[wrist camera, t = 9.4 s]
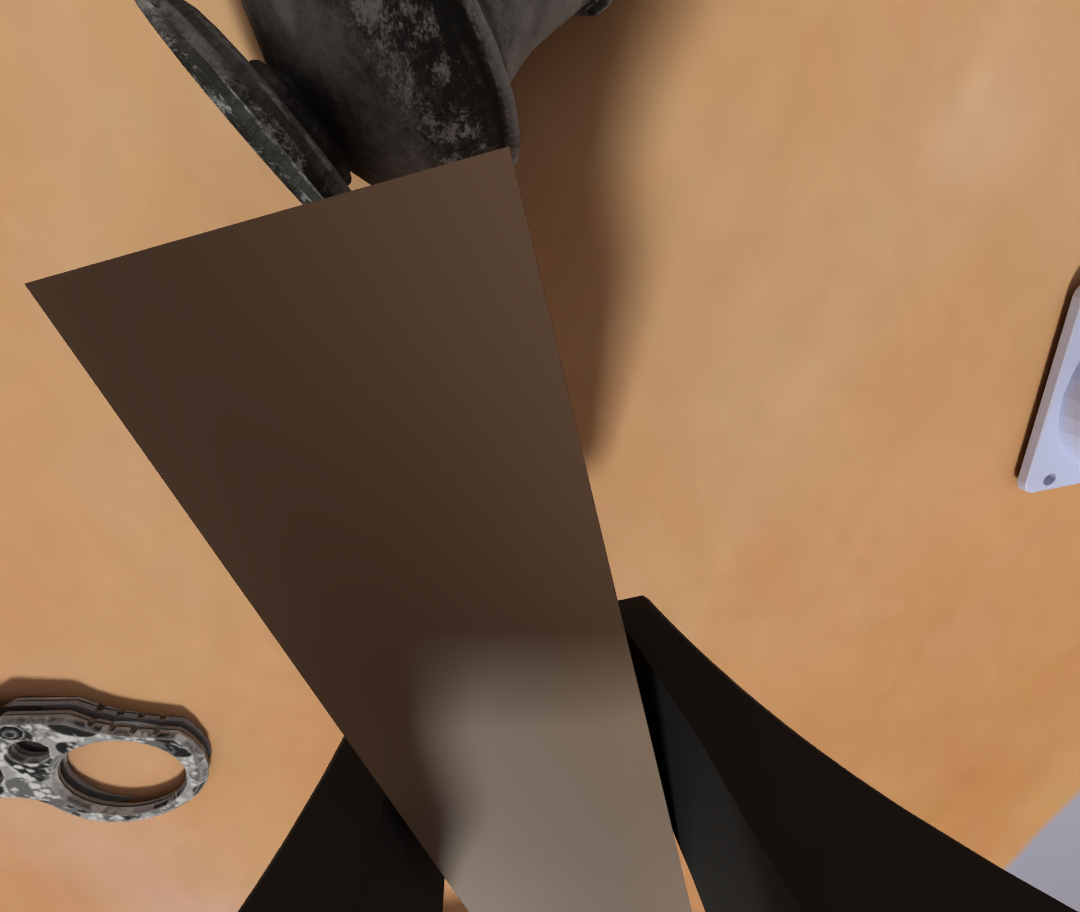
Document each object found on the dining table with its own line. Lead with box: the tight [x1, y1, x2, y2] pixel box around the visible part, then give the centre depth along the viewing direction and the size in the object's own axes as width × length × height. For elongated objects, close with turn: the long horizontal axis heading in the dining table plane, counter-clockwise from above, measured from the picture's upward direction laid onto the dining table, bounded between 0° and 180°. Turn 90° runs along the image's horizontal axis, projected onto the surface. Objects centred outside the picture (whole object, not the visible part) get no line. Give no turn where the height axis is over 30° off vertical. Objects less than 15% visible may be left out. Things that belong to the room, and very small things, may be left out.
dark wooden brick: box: [25, 146, 692, 912], centre depth 9 cm, size 3×14×6 cm, turn 14°
